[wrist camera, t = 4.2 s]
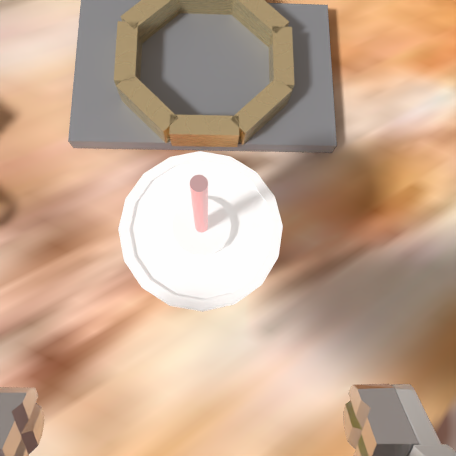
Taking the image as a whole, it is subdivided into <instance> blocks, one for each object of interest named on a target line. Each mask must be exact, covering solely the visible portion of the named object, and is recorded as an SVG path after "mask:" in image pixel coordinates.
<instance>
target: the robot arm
mask: <svg viewBox="0 0 456 456" xmlns="http://www.w3.org/2000/svg"><path fill="white" fill-rule="evenodd" d="M349 396H350V401H349V402H348V403H346V404H345V408H344V412H343V421H344V429H345V434H346V437H347V441H348V442H349V443H350V444H351V445H352V446H353V447H354V448H355V449H356V450H355V453H354V456H456V451H454V450H453V449H452V448H451V447H450V446H449V445H447V444H441V442H440V440H439V438H438V436H437V434H436V432H435V430H434V428H433V426H432V424H431V422H430V420H429V418H428V416H427V414H426V412H425V410H424V408H423V406H422V404H421V402H420V400H419V398H418V396H417V393H416V391H415V389H414V388H413V387H412V386H411V385H409V384H396V385H390V384H367V385H353V386H351V388H350V391H349ZM37 398H38V394H37V391H36V389H35V388H20V387H0V456H29V454H30V453H31V452H32V451H33V450H34V449H35V448H36V447H37V446H38V445H39V442H40V439H41V436H42V432H43V426H44V412H43V409H42V407H41V406H40V405H38V404H37V403H36V400H37Z"/></svg>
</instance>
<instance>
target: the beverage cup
mask: <svg viewBox="0 0 456 456" xmlns="http://www.w3.org/2000/svg"><path fill="white" fill-rule="evenodd" d="M282 228H283V225H282V221H281V217H280V214H279V210H278V206H277V202H276V199H275V196H274V195H273V193H272V192H271V191H270V189H269V188H268V187H267V185H266V184H265V183H264V181H263V180H262V179H261V178H260V176H259V175H258V174H257V172H255V171H254V170H252V169H250V168H249V167H247V166H245V165H244V164H242V163H240V162H239V161H237V160H235V159H234V158H232V157H230V156H225V155H219V154H213V153H208V152H202V151H199V152H193V153H188V154H183V155H178V156H173V157H169V158H168V159H166V160H165V161H163V162H161V163H160V164H158V165H157V166H155V167H153V168H152V169H150V170H149V171H147V172H146V173H144V174H143V175H142V177H141V178H140V180H139V181H138V182H137V184H136V185H135V186H134V188H133V189H132V191H131V192H130V193H129V195H128V196H127V198H126V199H125V203H124V208H123V212H122V216H121V221H120V225H119V229H118V230H119V235H120V241H121V246H122V252H123V258H124V261H125V263H126V264H127V266H128V267H129V269H130V270H131V272H132V273H133V275H134V276H135V278H136V279H137V281H138V282H139V284H140V285H141V287H142V288H143V289H145V290H146V291H148V292H150V293H151V294H153V295H154V296H156V297H157V298H159V299H160V300H162V301H164V302H165V303H167V304H168V305H170V306H174V307H180V308H185V309H191V310H197V311H207V310H212V309H216V308H220V307H225V306H229V305H233V304H236V303H237V302H239V301H240V300H241V299H243V298H244V297H245V296H247V295H248V294H250V293H251V292H252V291H254V290H255V289H256V288H258V287H259V286H261V285H262V284H263V282H264V280H265V279H266V277H267V275H268V274H269V272H270V270H271V269H272V267H273V265H274V264H275V262H276V260H277V259H278V257H279V250H280V243H281V235H282Z"/></svg>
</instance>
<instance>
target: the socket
mask: <svg viewBox="0 0 456 456" xmlns="http://www.w3.org/2000/svg"><path fill="white" fill-rule="evenodd" d="M180 13H191V14H221V15H232V16H233V17H235V18H236V19H237V20H238V21H239V22H240V23H241V24H242V25H244V26H245V27H246V28H247V29H248V30H249V31H250V32H251V33H253V34H254V35H255V36H256V37H257V38H258V39H259V40H260V41H262V42H263V43H264V44H265V45H266V46H267V47H268V48H269V83H270V84H269V85H267V86H266V87H265V88H264V89H263V90H262V91H261V92H260V93H259V94H257V95H256V96H255V97H254V98H253V99H252V100H251V101H250V102H249V103H247V104H246V105H245V106H244V107H243V108H242V109H241V110H240V111H239V112H237V113H236V114H235V115H234V116H224V115H177V114H174V113H173V112H172V111H171V110H170V109H169V108H168V107H167V106H166V105H165V104H164V103H163V102H162V101H161V100H160V99H159V98H158V97H156V96H155V95H154V94H153V93H152V92H151V91H150V90H149V89H148V88H147V87H146V86H145V85H144V84H143V83H142V82H141V81H140V73H141V54H142V44H143V43H144V42H145V41H146V40H148V39H149V38H150V37H151V36H153V35H154V34H155V33H156V32H158V31H159V30H160V29H161V28H163V27H164V26H165V25H166V24H168V23H169V22H170V21H171V20H172V19H174V18H175V17H176V16H177V15H179V14H180ZM120 17H121V20H122V21H118V23H117V38H116V53H115V68H114V82H115V85H116V88H117V90H118V93H119V95H120V98H121V100H122V101H123V102H124V103H125V104H126V105H127V106H128V107H129V108H130V109H131V110H132V111H133V112H134V113H135V114H136V115H137V116H138V117H139V118H140V119H141V120H142V121H143V122H144V123H145V124H146V125H147V126H148V127H149V128H150V129H151V130H152V131H153V132H155V133H156V134H157V135H158V136H159V137H160V138H161V139H162V140H163V141H164V142H165V143H167V142H168V141H169V140H171V145H172V146H199V147H237V146H238V141H239V142H240V143H241V144H242V145H244V144H245V143H246V142H247V141H248V140H249V139H250V138H251V137H252V136H253V135H254V134H255V133H257V132H258V131H259V130H260V129H261V128H262V127H263V126H264V125H265V124H266V123H267V122H268V121H270V120H271V119H272V118H273V117H274V116H275V115H276V114H277V113H278V112H279V111H280V110H281V109H282V108H284V107H285V106H286V105H287V103H288V100H289V98H290V96H291V93H292V90H293V88H294V62H293V39H292V27H288V25H289V21H288V20H287V19H286V18H284V17H283V16H282V15H281V14H280V13H279V12H278V11H276V10H275V9H274V8H273V7H272V6H271V5H270V4H268V3H267V2H266V1H265V0H141V1H140V2H138V3H137V4H136V5H134V6H133V7H132V8H130V9H129V10H128V11H127V12H125V13H124V14H123V15H121V16H120Z"/></svg>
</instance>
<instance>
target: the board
mask: <svg viewBox="0 0 456 456" xmlns="http://www.w3.org/2000/svg"><path fill="white" fill-rule="evenodd" d="M140 1H141V0H81V7H80V18H79V29H78V40H77V51H76V62H75V73H74V84H73V95H72V106H71V117H70V129H69V140H68V141H69V142H70V144H71V145H72V146H73V148H103V149H160V150H217V151H275V152H333V150H334V149H335V148H336V146H337V142H336V127H335V111H334V96H333V81H332V66H331V51H330V35H329V20H328V5H312V4H283V3H268V4H270V5H271V6H272V7H273V8H274V9H275V10H276V11H278V12H279V13H280V14H281V15H282V16H283V17H284V18H286V19H287V20H288V21H289V25H288V27H292V39H293V62H294V88H293V90H292V93H291V96H290V98H289V100H288V103H287V105H286V106H285V107H284V108H282V109H281V110H280V111H279V112H278V113H277V114H276V115H275V116H274V117H273V118H272V119H271V120H270V121H268V122H267V123H266V124H265V125H264V126H263V127H262V128H261V129H260V130H259V131H258V132H257V133H255V134H254V135H253V136H252V137H251V138H250V139H249V140H248V141H247V142H246V143H245V144H244V145H242V144H241V143H240V142H239V141H238V146H237V147H199V146H172V145H171V140H169V141H168V142H167V143H165V142H164V141H163V140H162V139H161V138H160V137H159V136H158V135H157V134H156V133H155V132H153V131H152V130H151V129H150V128H149V127H148V126H147V125H146V124H145V123H144V122H143V121H142V120H141V119H140V118H139V117H138V116H137V115H136V114H135V113H134V112H133V111H132V110H131V109H130V108H129V107H128V106H127V105H126V104H125V103H124V102H123V101H122V100H121V98H120V95H119V93H118V90H117V88H116V85H115V82H114V68H115V53H116V38H117V23H118V21H122V20H121V17H120V16H121V15H123V14H124V13H125V12H127V11H128V10H129V9H130V8H132V7H133V6H134V5H136V4H137V3H138V2H140ZM140 81H141V82H142V83H143V84H144V85H145V86H146V87H147V88H148V89H149V90H150V91H151V92H152V93H153V94H154V95H155V96H156V97H158V98H159V99H160V100H161V101H162V102H163V103H164V104H165V105H166V106H167V107H168V108H169V109H170V110H171V111H172V112H173V113H174V114H177V115H224V116H234V115H235V114H236V113H237V112H239V111H240V110H241V109H242V108H243V107H244V106H245V105H246V104H247V103H249V102H250V101H251V100H252V99H253V98H254V97H255V96H256V95H257V94H259V93H260V92H261V91H262V90H263V89H264V88H265V87H266V86H267V85H269V84H270V83H269V48H268V47H267V46H266V45H265V44H264V43H263V42H262V41H260V40H259V39H258V38H257V37H256V36H255V35H254V34H253V33H251V32H250V31H249V30H248V29H247V28H246V27H245V26H244V25H242V24H241V23H240V22H239V21H238V20H237V19H236V18H235V17H233V16H232V15H221V14H191V13H180V14H179V15H177V16H176V17H175V18H174V19H172V20H171V21H170V22H169V23H168V24H166V25H165V26H164V27H163V28H161V29H160V30H159V31H158V32H156V33H155V34H154V35H153V36H151V37H150V38H149V39H148V40H146V41H145V42H144V43H143V44H142V54H141V73H140Z"/></svg>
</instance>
